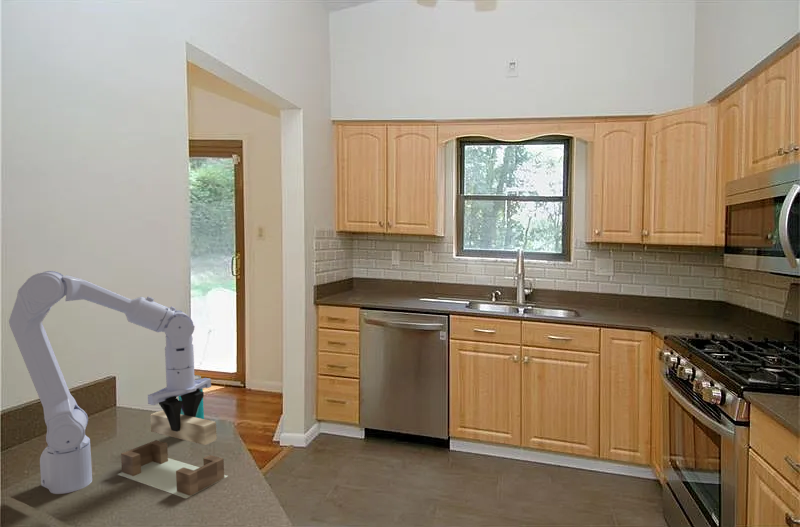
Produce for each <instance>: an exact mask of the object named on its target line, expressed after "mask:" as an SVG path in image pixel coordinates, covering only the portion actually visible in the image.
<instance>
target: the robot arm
mask: <svg viewBox="0 0 800 527" xmlns="http://www.w3.org/2000/svg"><path fill="white" fill-rule="evenodd" d="M64 297H65V299H64V300H65V302H71V301H81V300H84V301H87V302H91V303H94V304H96V305H100V306H102V307H104V308H105V307H106V308H108V309H111V310H114V311H117V312H120V313H123V314H125V317H126V320H127V321H128V322H129V323H131V324H134V325H136V326H139V327H142V328H145V329H148V330H151V331H153V332H156V333H161V332H162V333H164V334H165V348H164V357H165V359H164V360H165V380H166V382H165V383H166V387H163V388H162V389H159V390H157V391H156V392H153V393H150V394H147V404H148V405H151V406H156V405H159V406H160V407H161V409H162V410H163V411H164V412H165V414H166V416H167V418H168V421H169V424H170V427H171V430H172V431H176V432H177V431H180V414H181V408H182V404H183V408H184V415H187V416H191V417H196V413H197V410H198V407H199V404H200V402H201V400H202V398H203V399H204V397H205V395H204V394H205V393H204V391H203V392H201V391H200V389H203V390H204V389H208V388H212V379H211V378H207V377H204V378H201V379H199V380H195V376H194V375H195V355H194V352H195V351H194V344H193V338H194V337H193V334H194V331H195V324H194V322H193V320H192V318H191V317H190V316H189V315H188V314H187V313H186V312H184V311H182V310H180V309H179V310H178V309H177V308H176V307H174V306H170V307H169V306H167V305H163V304H162V303H158V302H156V301H155V300H154V299H155V298H154V297H152V296H147V297H144V296H139V297H136V298H133V299H132V298H129V297H126V296H124V295H122V294H119V293H117V292H115V291H112V290H110V289H107V288H106V287H103V286H101V285H98V284H95V283H93V282H91V281H88V280H86V279H84V278H80V277H75V276H72V275H68V274H66V275H64V274H62V273H61V272H59V271H56V270H55V271H54V270H47V271H43V272H39V273H38V272H37V273H35V274H33V275H31V276H29V278H27V279H26V281H25V282H23V284H22V285H21V286H20V288H18V290H17V293H16V299H15V301H14V304H13V308H12V310H11V313H10V317H9V320H8V325H9V327H10V330H11V332H12V334H13V338H14V340H15V341H16V344H17V347H18V349H19V352H20V354H21V356H22V359H23V361H24V362H23V363H25V364H24V365H25V366H26V368H27V371H28V374H29V376H30V378H31V381H32V383H33V386H34V388H35V392H36V394H37V395H38V398H39V401H40V403H41V406H42V408H43V420H44V422H45V425H46V434H45V441H46V443H47V446H46V447H45V448H44V449H43V450H42V453H41V454H40V458H39V468H40V470H39V471H40V485H41V487H43V488H46V489H48V490H49V492H50V493H51V494H54V495H61V494H69V493H72V492H76V491H80V490H82V489H84V488H86V487H88V486H89V485H90V484H91V483H92V482H93V469H92V468H93V466H92V454H91V453H92V452H91V450H92V449H91V439H90V437H89V436H87V435H86V428H87V425H88V423H89V417H88V413H86V411H85V410H84V409H83V408H81V407H80V406H79V405H78V403H77V401H76V399H75V398H74V396H73V395H72V394H71V392H70V389H69V387H68V384H67V382H66V380H65V376H64V374H63V371H62V369H61V367H60V364H59V361H58V359H57V357H56V355H55V352H54V349H53V346H52V344H51V342H50V339H49V337H48V334H47V331H46V328H45V327H44V324H43V321H44V320H45V318H46V317H47V316H48V313H49V312H50V311H51V309H52V307H53V306H55V304H57V303H58V302H60V301H61V300H62V299H63V298H64ZM176 309H177V310H176ZM178 396H181V399H182V401H179V397H178ZM177 397H178V398H177Z"/></svg>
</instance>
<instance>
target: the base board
mask: <svg viewBox="0 0 800 527" xmlns="http://www.w3.org/2000/svg"><path fill="white" fill-rule="evenodd" d="M183 467H184V468H187V469H191V470H196V469H198V468H200V467H201V466H195V465H192V464H190V463H186V462H183V461H181V460H176V459H173V458H169V457H168V461H167V462H165V463H162V464H159V463H156V462H153V461H152V462H150V463H148V464H145V465H143V466H141V473H140V474H137V475H135V476H131V475H128V474H126V473H123V472H122V471H121V472H120V473H117V474H116V475H117V476H121V477H124V478H127V479H129V480H131V481H135V482H138V483H141V484H142V485H143V484H144V485H147V486H149V487H151V488H154V489H158V490H161V491H164V492H166V493H169V494H172V495H175V496H177V497H180V498H183V499H188V498H190V497H191V496H193V495H195V494H197V493H199V492H197V493H195V494H193V495H191V496H189V495H186V494H183V493H181V492H178V491H177V483H176V471H177V470H179V469H181V468H183ZM227 477H229V475H226V474H224V478H223V479H222V480H224V479H225V478H227ZM215 484H216V483H214V484H212V485H215ZM212 485H210V486H208V487H206V488H205V489H207V488H209V487H211V486H212Z"/></svg>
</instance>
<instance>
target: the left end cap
mask: <svg viewBox="0 0 800 527" xmlns="http://www.w3.org/2000/svg"><path fill="white" fill-rule="evenodd" d="M168 458H169V452H168V442H164V441H161V440H157V439H155V440H152V441H150V442H147V443H145V444H142V445H140V446H136V447H134V448H132V449H130V450H127V451H124V452H122V453H120V459H121V472H123V473H126V474H128V475H131V476H135V475H137V474H140V473H141V466H143V465H145V464H148V463H150V462H152V461H153V462H156V463H159V464H162V463H165V462H167V461H168Z"/></svg>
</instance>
